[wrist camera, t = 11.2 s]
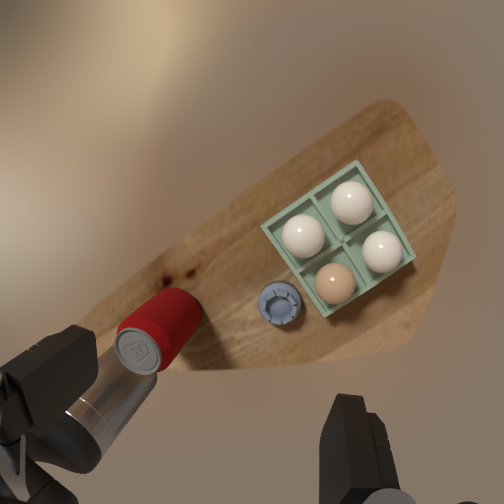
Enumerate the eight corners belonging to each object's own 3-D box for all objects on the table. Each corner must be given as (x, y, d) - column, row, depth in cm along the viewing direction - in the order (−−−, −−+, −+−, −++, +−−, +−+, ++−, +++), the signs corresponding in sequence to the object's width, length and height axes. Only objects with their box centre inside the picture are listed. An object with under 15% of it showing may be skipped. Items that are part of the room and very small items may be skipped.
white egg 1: (297, 260, 34) (297, 271, 30) (274, 227, 34) (271, 233, 30) (331, 238, 33) (335, 246, 29) (308, 204, 33) (309, 207, 28)
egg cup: (275, 326, 38) (273, 335, 36) (251, 294, 38) (248, 302, 35) (308, 305, 37) (309, 314, 35) (285, 272, 37) (284, 279, 34)
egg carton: (322, 308, 37) (324, 317, 34) (263, 223, 36) (260, 226, 33) (408, 251, 34) (416, 256, 31) (352, 161, 33) (357, 159, 30)
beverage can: (146, 301, 41) (98, 340, 29) (180, 275, 39) (135, 310, 27) (177, 340, 41) (138, 389, 29) (213, 317, 39) (180, 365, 28)
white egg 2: (343, 230, 33) (349, 236, 28) (320, 196, 32) (323, 197, 28) (375, 207, 32) (386, 210, 27) (353, 173, 31) (361, 171, 27)
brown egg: (327, 302, 35) (329, 318, 30) (306, 272, 34) (306, 285, 30) (359, 281, 33) (366, 295, 29) (339, 250, 33) (344, 260, 29)
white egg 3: (371, 274, 33) (379, 286, 29) (351, 242, 33) (358, 250, 29) (402, 252, 32) (415, 262, 28) (383, 220, 32) (394, 224, 27)
